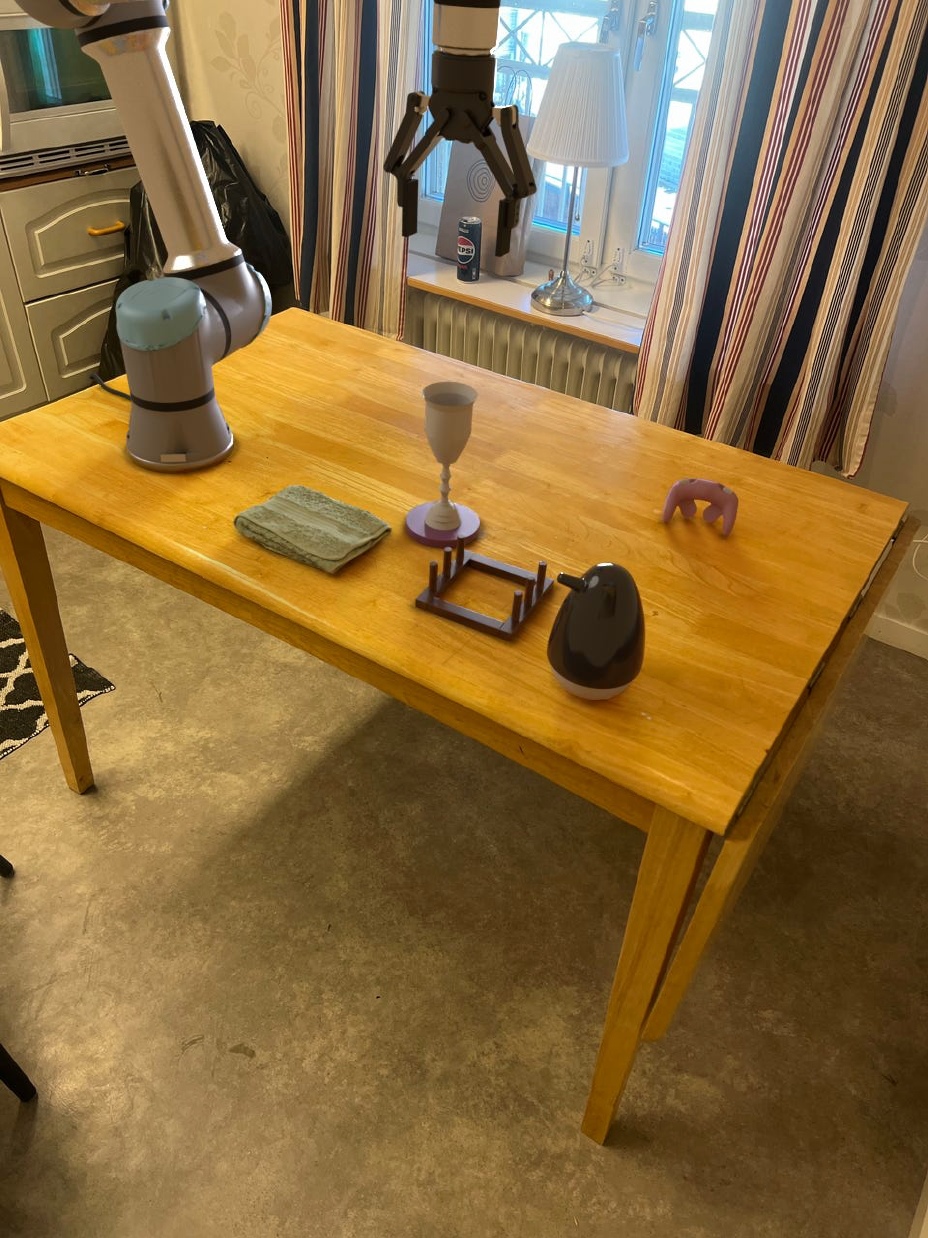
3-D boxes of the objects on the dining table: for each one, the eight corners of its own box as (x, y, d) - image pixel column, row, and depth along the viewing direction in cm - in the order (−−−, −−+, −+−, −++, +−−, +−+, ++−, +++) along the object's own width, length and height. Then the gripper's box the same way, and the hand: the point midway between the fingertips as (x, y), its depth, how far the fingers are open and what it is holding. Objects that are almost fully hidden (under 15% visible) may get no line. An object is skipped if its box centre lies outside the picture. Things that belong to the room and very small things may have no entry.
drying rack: (414, 607, 106) (416, 572, 103) (463, 556, 115) (466, 523, 112) (510, 642, 101) (514, 607, 98) (553, 587, 110) (558, 554, 107)
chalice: (462, 538, 116) (471, 409, 105) (412, 530, 117) (415, 401, 106) (473, 510, 122) (482, 385, 111) (425, 502, 122) (429, 378, 111)
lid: (391, 533, 118) (391, 525, 117) (428, 501, 125) (428, 494, 124) (457, 556, 115) (458, 548, 114) (491, 521, 122) (492, 514, 121)
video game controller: (730, 535, 126) (743, 486, 124) (731, 537, 121) (744, 487, 120) (661, 520, 128) (673, 472, 126) (659, 521, 123) (671, 472, 122)
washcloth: (334, 583, 108) (333, 561, 106) (228, 534, 115) (225, 513, 113) (397, 537, 117) (397, 516, 115) (295, 494, 124) (294, 474, 122)
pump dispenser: (534, 652, 100) (550, 538, 91) (624, 651, 101) (649, 539, 92) (548, 715, 92) (567, 598, 83) (646, 714, 93) (675, 598, 84)
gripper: (577, 60, 100) (554, 255, 113) (388, 36, 109) (387, 221, 122) (551, 65, 95) (530, 269, 108) (354, 40, 103) (357, 232, 116)
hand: (454, 244), depth 115 cm, fingers open, 13 cm apart
